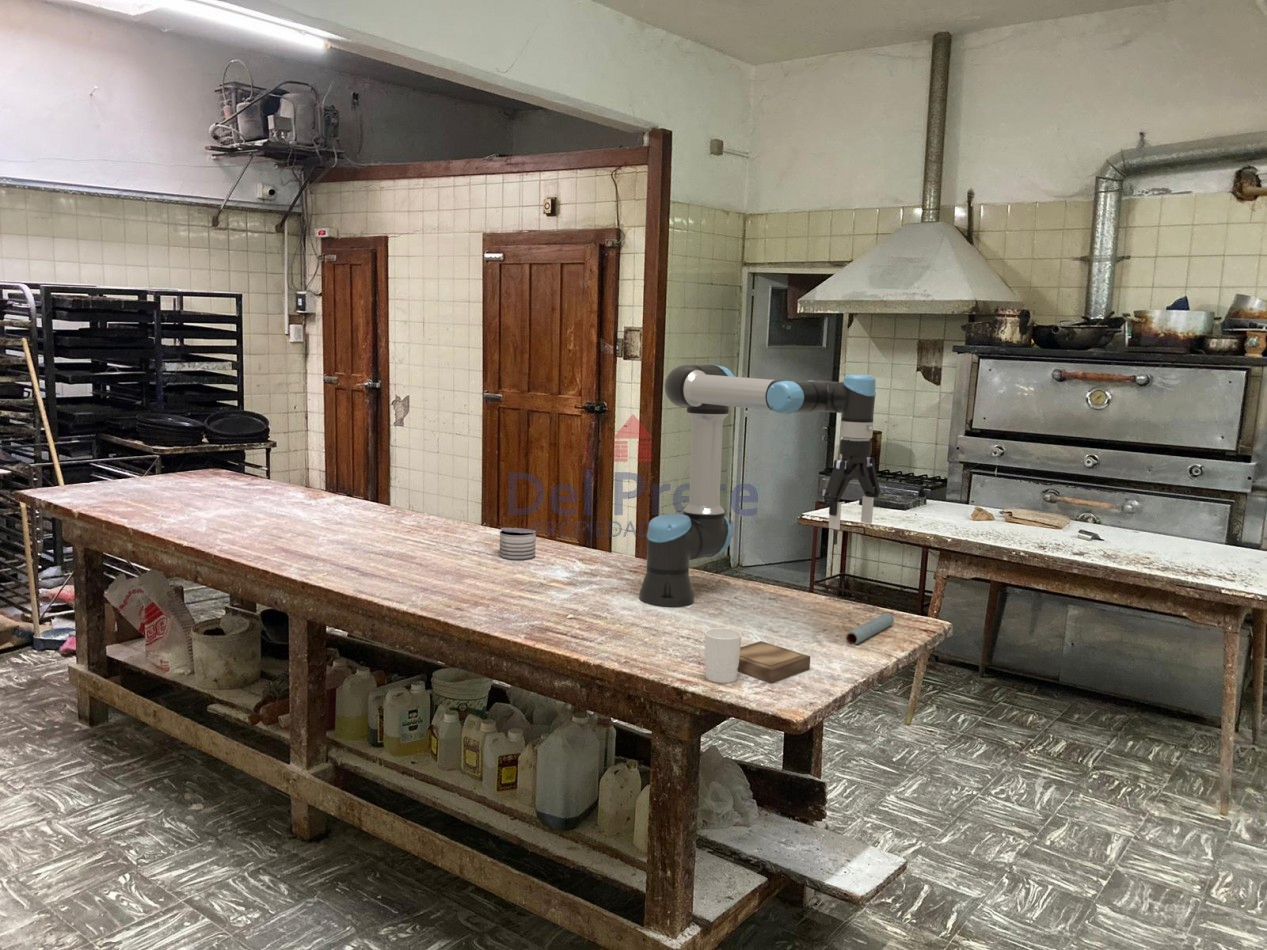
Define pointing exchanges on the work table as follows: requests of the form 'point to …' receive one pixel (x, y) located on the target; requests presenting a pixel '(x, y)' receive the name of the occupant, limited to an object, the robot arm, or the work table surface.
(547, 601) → the work table surface
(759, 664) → the base
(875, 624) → the aluminum foil
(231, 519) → the work table surface
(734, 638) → the white cup
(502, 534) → the can
